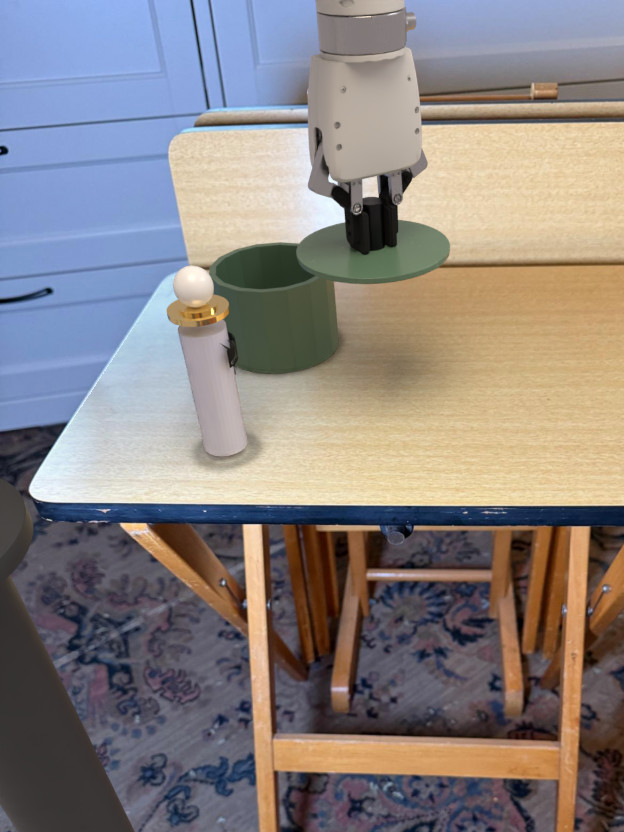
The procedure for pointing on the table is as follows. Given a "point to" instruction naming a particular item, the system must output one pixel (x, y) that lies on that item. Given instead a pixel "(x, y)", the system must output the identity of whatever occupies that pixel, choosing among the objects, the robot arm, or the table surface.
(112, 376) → the table surface
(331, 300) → the tin
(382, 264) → the tin lid
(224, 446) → the perfume bottle
